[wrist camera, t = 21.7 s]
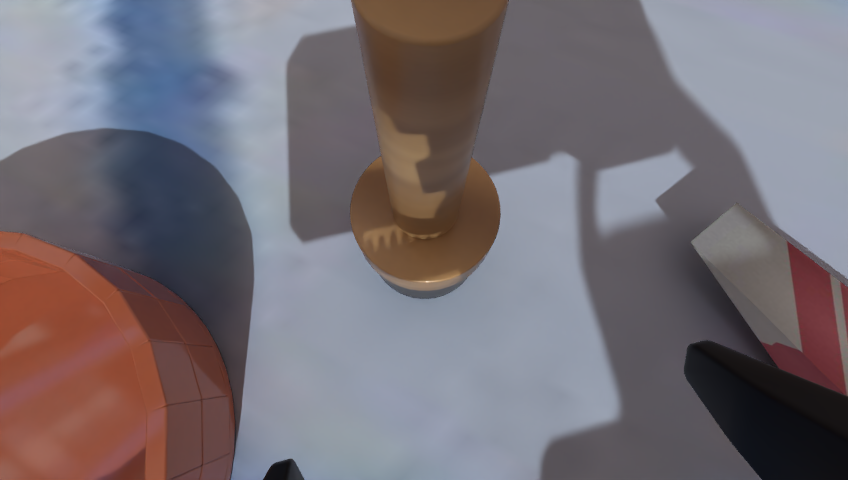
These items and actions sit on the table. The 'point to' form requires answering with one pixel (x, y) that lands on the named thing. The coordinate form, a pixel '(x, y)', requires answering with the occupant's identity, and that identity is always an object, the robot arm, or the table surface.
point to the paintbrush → (781, 296)
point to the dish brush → (426, 141)
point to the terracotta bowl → (104, 373)
